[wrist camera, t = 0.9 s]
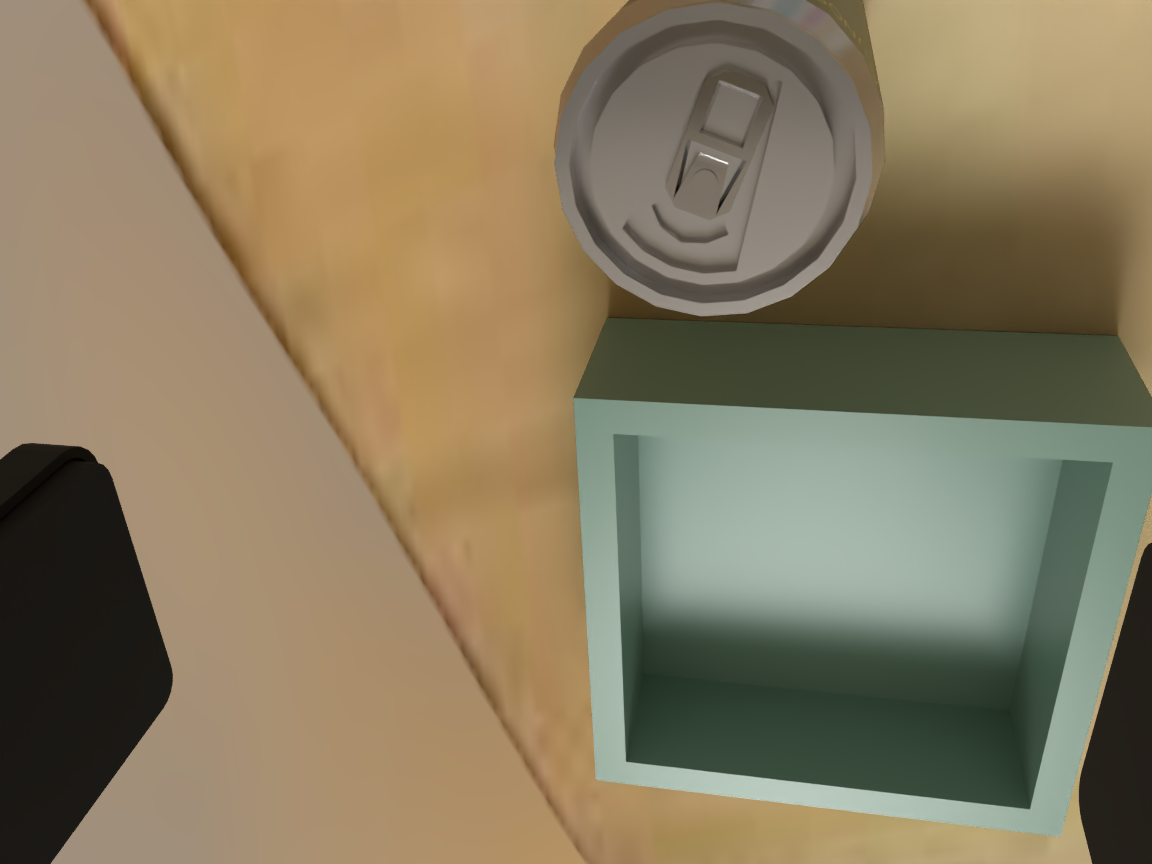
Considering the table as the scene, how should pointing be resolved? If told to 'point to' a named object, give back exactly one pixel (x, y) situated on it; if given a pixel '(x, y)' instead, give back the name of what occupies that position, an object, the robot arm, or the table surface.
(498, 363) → the table surface
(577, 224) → the beer can
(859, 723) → the open rectangular storage bin
